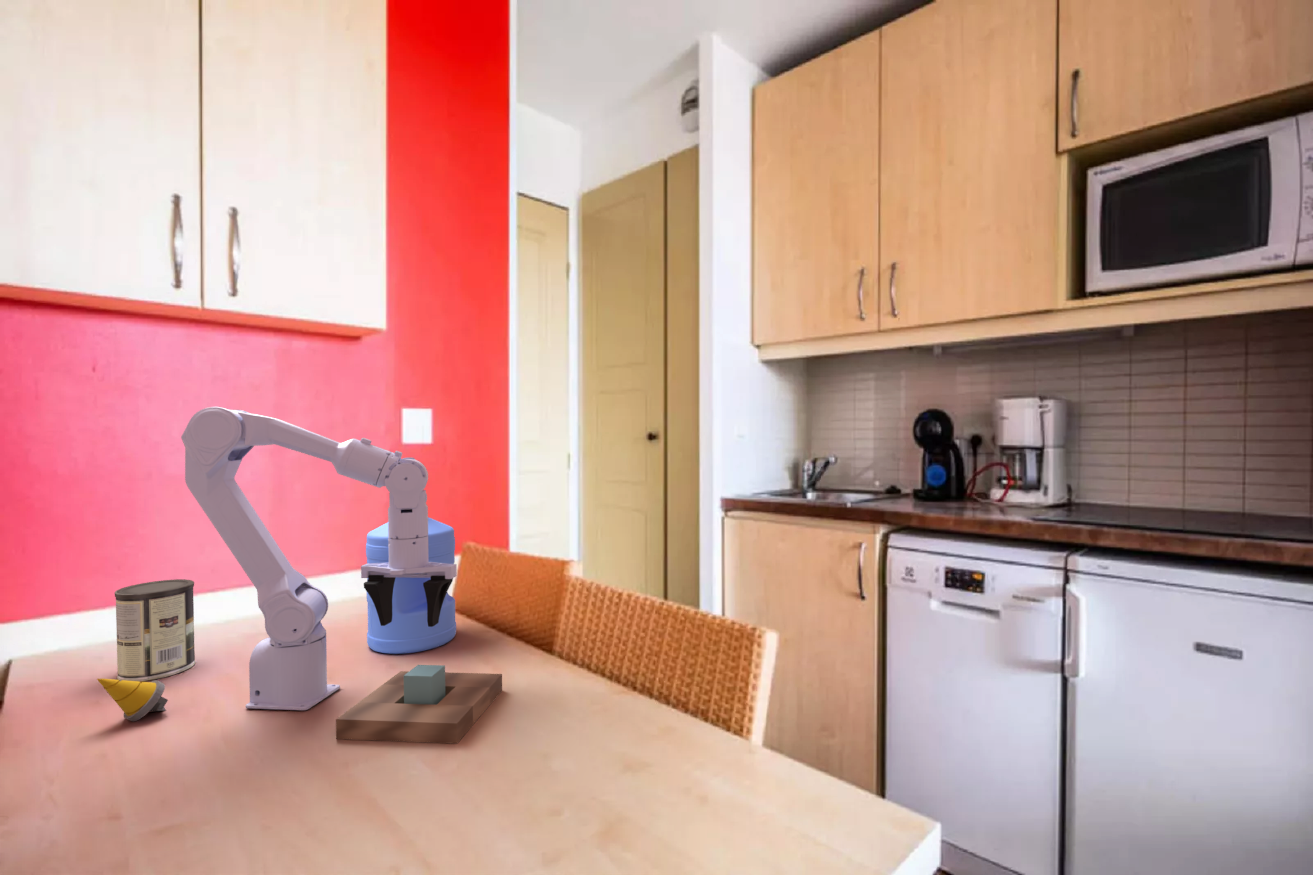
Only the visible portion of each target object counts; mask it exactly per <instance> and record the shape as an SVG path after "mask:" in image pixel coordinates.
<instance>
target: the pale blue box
mask: <svg viewBox="0 0 1313 875" xmlns="http://www.w3.org/2000/svg"><path fill="white" fill-rule="evenodd" d="M445 672H446V665H444V664H443V665H442V664H441V665H440V664H417V665H415V666H414V667H413V668H412V669H410V670H409V672H408V673H406V674H405V675H404V704H430V705H437V704H438V703H439V702H440V701H441V700H442V699H443V698H444V697H445Z"/></svg>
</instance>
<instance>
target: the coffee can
mask: <svg viewBox="0 0 1313 875" xmlns="http://www.w3.org/2000/svg"><path fill="white" fill-rule="evenodd" d="M194 586H195V581H194V580H192V579H177V578H176V579H164V580H157V581H147V582H141V583H137V584H132V585H129V586H125V587H122V588H120V589H117V590H115V592H114V597H115V623H116V660H117V661H116V662H117V663H116V664H117V667H116V668H117V676H116V680H119V681H122V680H127V681H140V682H149V681H154V680H159V679H163V678H167V677H170V676H174V675H177V674H179V673H180V674H181V673H183V672H186V671H187V670H189V669H190V668H192V667H193V666H195V664H196V659H195V658H196V656H195V655H196V654H195V619H194V618H195V617H194V615H195V614H194V613H195V612H194V604H195V603H194Z"/></svg>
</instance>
